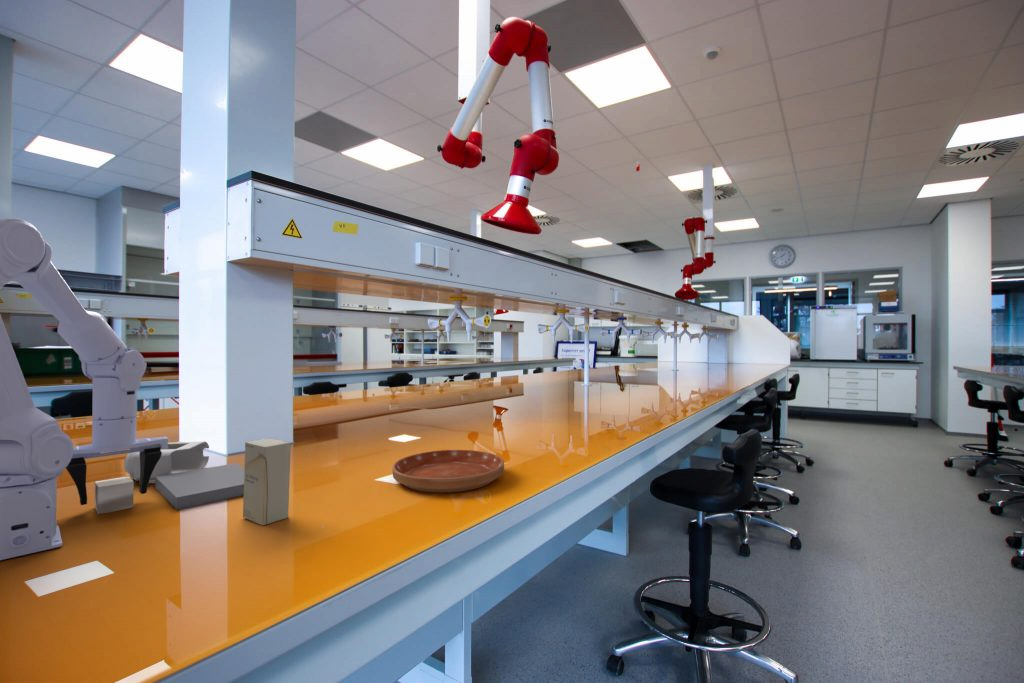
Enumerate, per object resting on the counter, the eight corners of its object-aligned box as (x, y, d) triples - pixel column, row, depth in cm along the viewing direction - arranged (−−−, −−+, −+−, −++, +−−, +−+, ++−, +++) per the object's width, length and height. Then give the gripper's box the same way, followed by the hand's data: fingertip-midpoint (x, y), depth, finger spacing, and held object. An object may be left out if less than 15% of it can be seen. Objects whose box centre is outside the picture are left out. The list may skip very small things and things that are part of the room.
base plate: (266, 490, 88) (266, 479, 88) (176, 509, 77) (176, 497, 77) (235, 472, 100) (235, 463, 100) (154, 486, 90) (155, 476, 90)
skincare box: (242, 518, 73) (242, 441, 74) (269, 509, 77) (269, 437, 77) (263, 526, 70) (264, 446, 70) (291, 517, 74) (291, 441, 74)
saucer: (458, 505, 80) (458, 484, 80) (367, 484, 92) (367, 466, 92) (524, 474, 99) (524, 457, 100) (442, 460, 111) (442, 445, 111)
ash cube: (133, 507, 78) (133, 481, 78) (98, 514, 75) (98, 487, 75) (129, 501, 82) (129, 476, 82) (94, 508, 78) (95, 481, 78)
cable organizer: (114, 453, 90) (183, 450, 92) (151, 439, 102) (211, 437, 104) (114, 487, 90) (183, 484, 92) (151, 469, 102) (211, 467, 104)
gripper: (162, 411, 87) (162, 483, 86) (53, 420, 76) (52, 502, 76) (171, 414, 82) (170, 491, 82) (56, 425, 71) (55, 513, 71)
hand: (114, 497), depth 78 cm, fingers open, 7 cm apart
